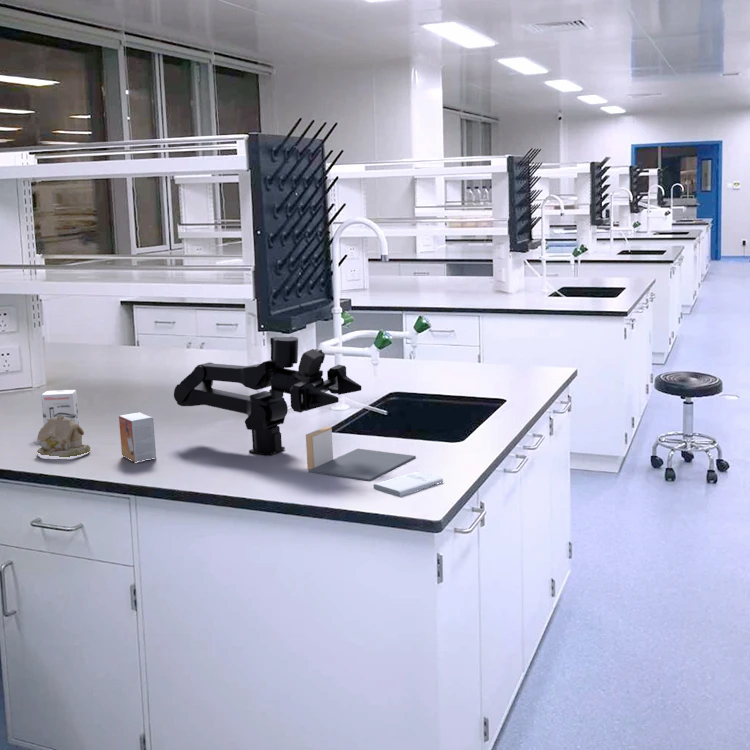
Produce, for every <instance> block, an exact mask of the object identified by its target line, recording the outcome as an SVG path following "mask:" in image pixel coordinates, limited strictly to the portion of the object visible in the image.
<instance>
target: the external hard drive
mask: <svg viewBox="0 0 750 750" xmlns="http://www.w3.org/2000/svg"><path fill="white" fill-rule="evenodd" d="M440 482H443V483H444V479H443V477H440V476H435V475H432V474H429V473H425V472H420V471H414V472H410V473H407V474H404V475H401V476H396V477H394V478H391V479H387V480H384V481H380V482H377V483H374V484H373V486H372V487H373V489H374V490H378V491H380V492H384V493H388V494H390V495H394V496H397V497H403V495H404V496H406V494H407V495H409V493H410V494H412V493H411V492H413V493H415V492H414V491H416V492H418V491H417V490H419V491H421V490H420V489H422V490H424V489H423V488H425V489H427V488H426V487H428V488H430V487H429V486H431V487H433V486H432V485H434V484H437V483H440ZM440 484H441V483H440ZM437 485H438V484H437ZM434 486H435V485H434Z"/></svg>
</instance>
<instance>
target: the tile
mask: <svg viewBox="0 0 750 750" xmlns="http://www.w3.org/2000/svg"><path fill="white" fill-rule="evenodd" d="M305 444H306V445H305V447H306V460H307V463H306V464H307V465H306V466H307V467H306V468H307V469H308V470H311V469H313V468H315V467H318V466H320V465H322V464H324V463H327V462H329V461H331V460H333V459H334V453H333V452H334V450H333V430H332V427H331V426H324V427H322V428H319V429H317V430H314V431H312V432H310V433H306V434H305Z"/></svg>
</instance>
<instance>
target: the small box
mask: <svg viewBox="0 0 750 750" xmlns="http://www.w3.org/2000/svg"><path fill="white" fill-rule="evenodd" d="M118 423H119V435H120V449H121V456H122V455H123V456H125V457H127V458H129V459H131V460H132V461H134V462H137V461H142V460H146V459H152V458H156V459H157V450H156V436H155V425H154V417H153V416H149V415H147V414H145V413H142V412H140V411H139V412H134V413H127V414H121V415H119V416H118ZM132 461H131V462H132Z"/></svg>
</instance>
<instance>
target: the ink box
mask: <svg viewBox="0 0 750 750" xmlns="http://www.w3.org/2000/svg"><path fill="white" fill-rule="evenodd" d="M77 393H78V391H77V390H76V389H60V390H59V389H58V390H57V389H56V390H46V391H45V392H43V393H42V394H41V396H40V398H41V399H40V400H41V408H42V410H41V411H42V420H43V421H42V422H43V426H44V425H45V424H46V423H47V422H48V420H49V419H50V418H57V416H58V415H61V416H62V415H63V416H64V419H65V418H66V419H71V420H72V421H73V422H74V423H76V424H78V425H79V426H80V418H79V408H78V394H77Z"/></svg>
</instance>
